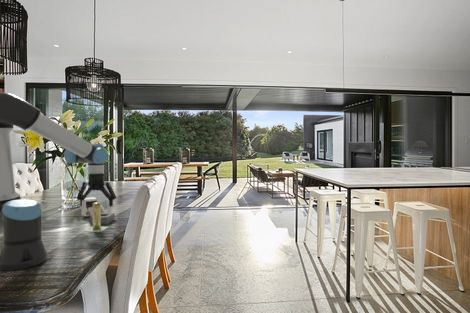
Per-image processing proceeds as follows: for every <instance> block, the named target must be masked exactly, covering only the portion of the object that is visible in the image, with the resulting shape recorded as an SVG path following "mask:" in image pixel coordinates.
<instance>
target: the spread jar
mask: <svg viewBox="0 0 470 313" xmlns="http://www.w3.org/2000/svg"><path fill="white" fill-rule="evenodd" d="M84 200H86V212H84V213H82V212H81V215H82V217H84V218H85V219H87V218H88V219H90V217H91V216H93V203H95V202H99V201H98V200H97V197H93V196H91V197H86V198H85V199H84ZM101 213H106V209H105V207H104V205H102V204H101Z"/></svg>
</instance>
